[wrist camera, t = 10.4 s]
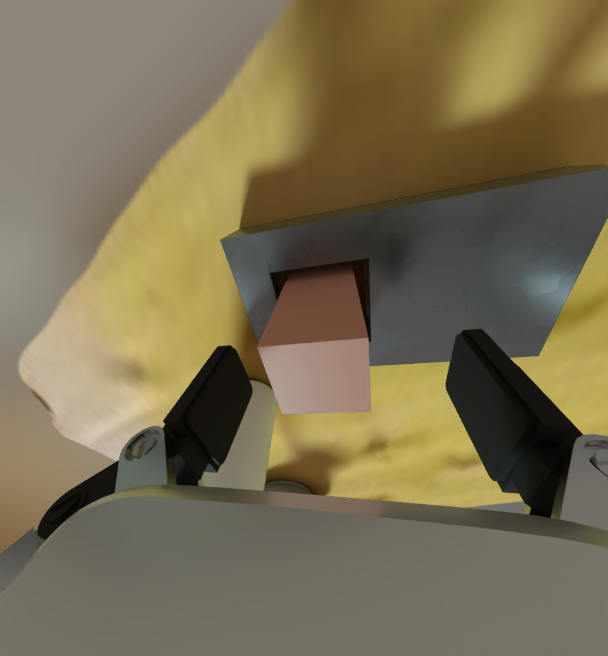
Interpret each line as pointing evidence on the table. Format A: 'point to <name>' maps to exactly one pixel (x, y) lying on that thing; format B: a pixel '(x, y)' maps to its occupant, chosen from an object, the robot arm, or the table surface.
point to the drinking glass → (249, 445)
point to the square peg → (318, 343)
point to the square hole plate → (441, 261)
